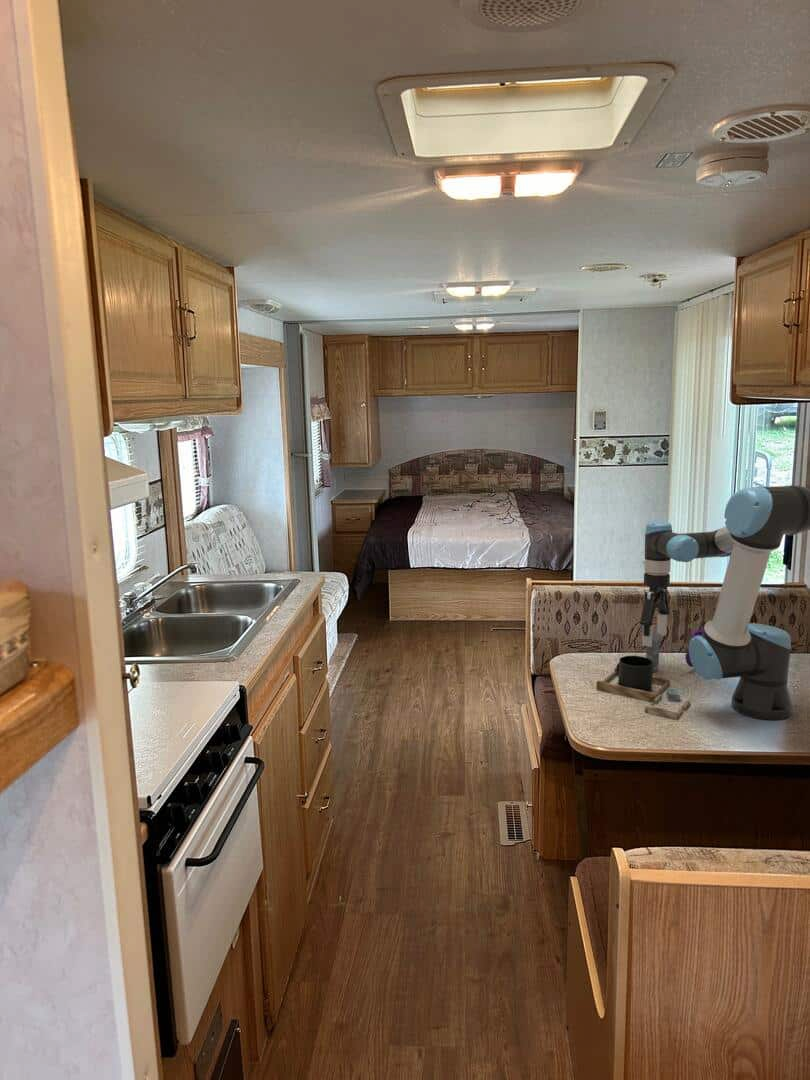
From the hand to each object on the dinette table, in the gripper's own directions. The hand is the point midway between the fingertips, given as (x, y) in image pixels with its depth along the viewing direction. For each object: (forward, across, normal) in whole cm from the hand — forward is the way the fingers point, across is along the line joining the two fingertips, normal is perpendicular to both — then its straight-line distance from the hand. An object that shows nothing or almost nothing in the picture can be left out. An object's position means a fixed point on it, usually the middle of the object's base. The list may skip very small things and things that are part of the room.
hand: (654, 640), depth 238 cm
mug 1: (+11, +17, -1) cm, 20 cm away
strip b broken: (+11, +23, +12) cm, 28 cm away
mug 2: (+10, -13, +11) cm, 20 cm away
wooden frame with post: (+10, +11, -1) cm, 15 cm away
